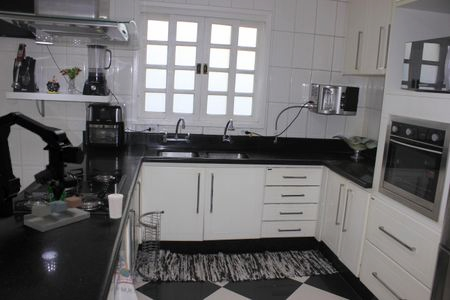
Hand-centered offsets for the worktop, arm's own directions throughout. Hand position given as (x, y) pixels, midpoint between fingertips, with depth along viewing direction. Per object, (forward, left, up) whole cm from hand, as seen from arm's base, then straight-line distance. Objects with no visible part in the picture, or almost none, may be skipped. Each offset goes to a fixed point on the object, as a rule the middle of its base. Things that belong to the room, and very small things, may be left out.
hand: (57, 200), depth 157 cm
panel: (0, 0, -8) cm, 8 cm away
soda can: (-17, +11, -8) cm, 22 cm away
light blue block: (0, 0, -4) cm, 4 cm away
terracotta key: (0, +7, -4) cm, 8 cm away
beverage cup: (+13, +18, -8) cm, 24 cm away
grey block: (0, -7, -4) cm, 8 cm away
